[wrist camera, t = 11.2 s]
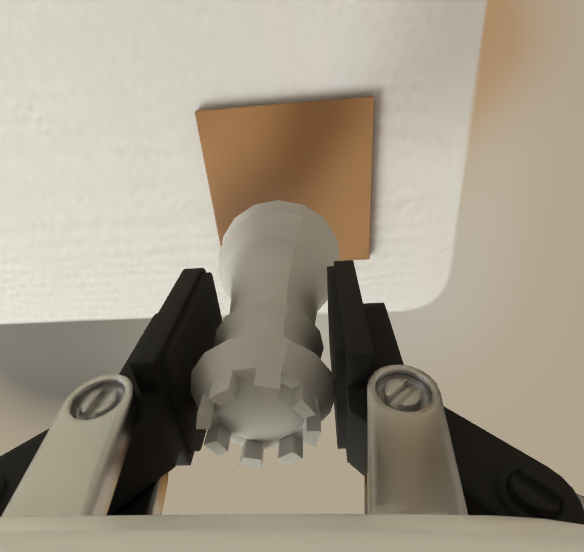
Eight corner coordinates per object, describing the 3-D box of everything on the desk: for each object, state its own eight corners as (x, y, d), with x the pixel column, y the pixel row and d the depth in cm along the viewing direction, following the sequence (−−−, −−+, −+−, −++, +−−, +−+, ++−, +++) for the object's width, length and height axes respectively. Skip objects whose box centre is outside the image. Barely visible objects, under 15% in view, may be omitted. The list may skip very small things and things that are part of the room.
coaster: (373, 95, 19) (374, 96, 18) (368, 256, 23) (369, 259, 23) (196, 110, 19) (194, 111, 19) (225, 263, 24) (224, 266, 23)
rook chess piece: (243, 176, 13) (172, 311, 6) (359, 222, 14) (413, 389, 7) (210, 278, 15) (129, 463, 8) (311, 313, 16) (316, 510, 9)
